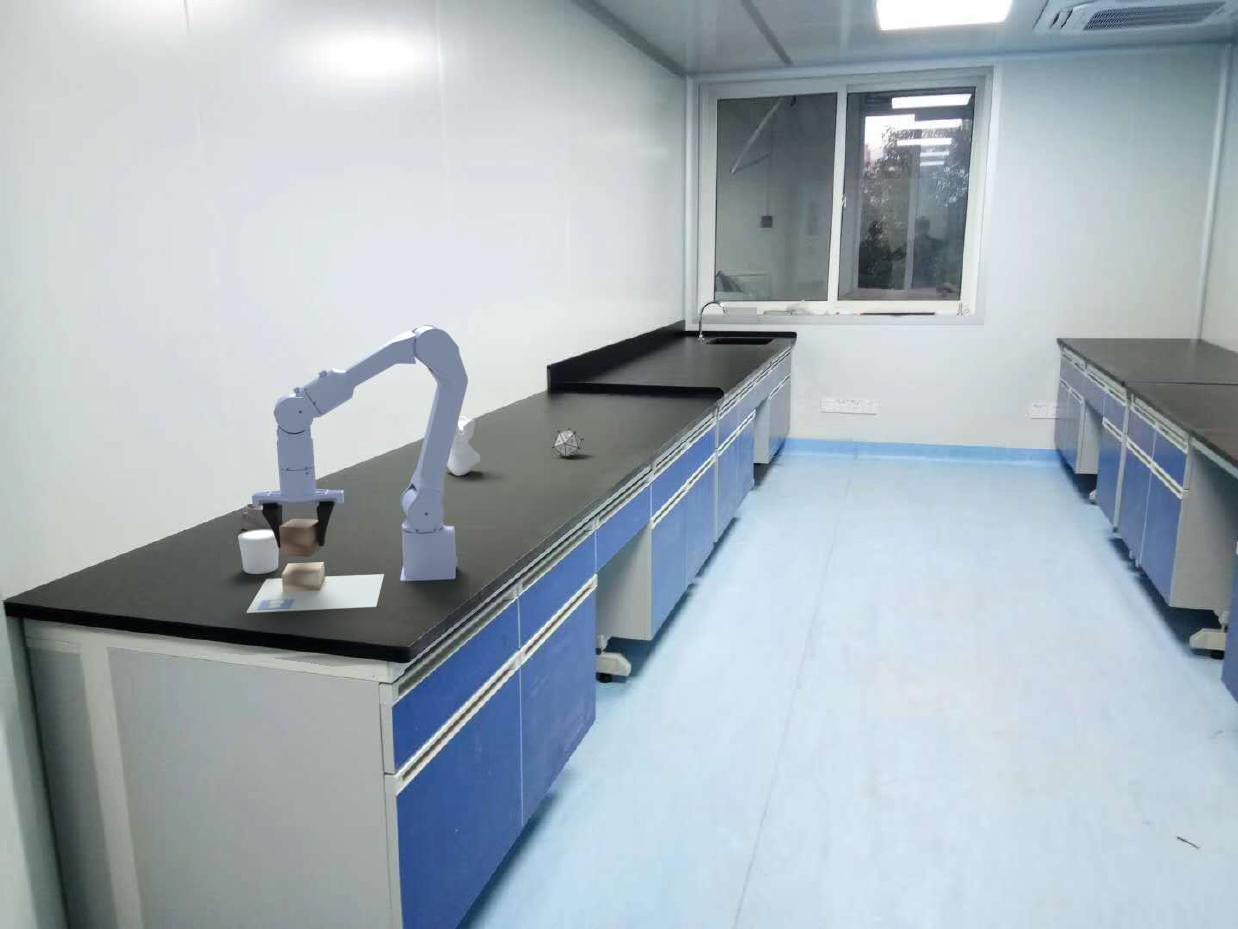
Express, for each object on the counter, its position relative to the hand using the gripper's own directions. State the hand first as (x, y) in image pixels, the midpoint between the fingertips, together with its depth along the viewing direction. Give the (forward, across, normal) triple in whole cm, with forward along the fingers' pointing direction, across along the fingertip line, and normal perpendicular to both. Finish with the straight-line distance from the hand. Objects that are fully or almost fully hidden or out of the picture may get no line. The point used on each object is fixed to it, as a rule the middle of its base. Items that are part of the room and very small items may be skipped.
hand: (301, 545), depth 161 cm
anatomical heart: (+8, -26, -82) cm, 86 cm away
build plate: (+8, -3, +4) cm, 9 cm away
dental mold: (+8, +14, -38) cm, 41 cm away
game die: (+8, -56, -101) cm, 116 cm away
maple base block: (+7, 0, 0) cm, 7 cm away
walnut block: (+1, 0, 0) cm, 1 cm away
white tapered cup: (+8, +9, -10) cm, 16 cm away
